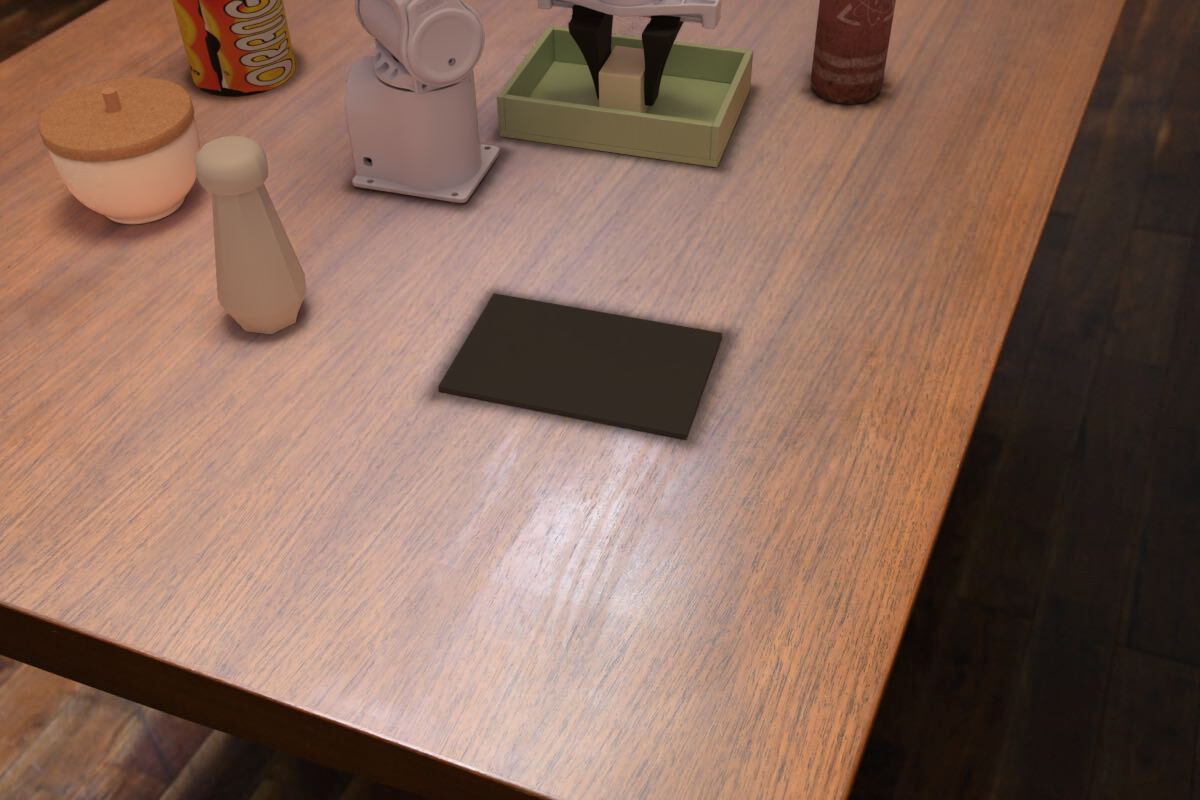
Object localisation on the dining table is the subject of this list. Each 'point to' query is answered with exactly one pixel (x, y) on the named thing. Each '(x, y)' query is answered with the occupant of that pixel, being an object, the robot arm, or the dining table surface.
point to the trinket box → (124, 146)
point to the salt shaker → (249, 237)
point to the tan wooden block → (623, 80)
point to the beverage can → (236, 44)
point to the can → (851, 49)
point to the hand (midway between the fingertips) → (628, 97)
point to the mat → (585, 365)
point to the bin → (665, 131)
